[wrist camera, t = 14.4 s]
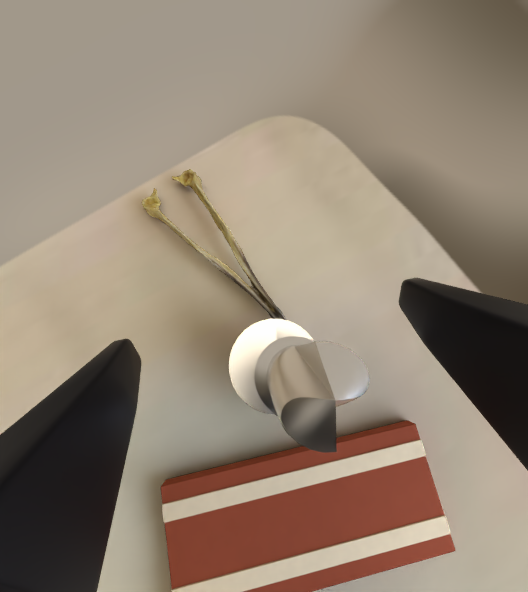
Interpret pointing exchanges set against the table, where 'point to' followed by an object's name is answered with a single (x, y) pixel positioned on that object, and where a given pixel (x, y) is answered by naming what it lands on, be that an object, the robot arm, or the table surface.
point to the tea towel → (305, 516)
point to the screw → (296, 379)
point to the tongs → (256, 289)
